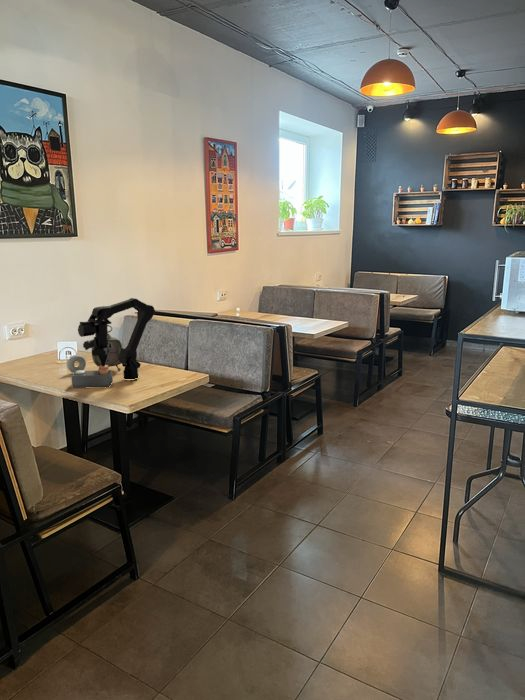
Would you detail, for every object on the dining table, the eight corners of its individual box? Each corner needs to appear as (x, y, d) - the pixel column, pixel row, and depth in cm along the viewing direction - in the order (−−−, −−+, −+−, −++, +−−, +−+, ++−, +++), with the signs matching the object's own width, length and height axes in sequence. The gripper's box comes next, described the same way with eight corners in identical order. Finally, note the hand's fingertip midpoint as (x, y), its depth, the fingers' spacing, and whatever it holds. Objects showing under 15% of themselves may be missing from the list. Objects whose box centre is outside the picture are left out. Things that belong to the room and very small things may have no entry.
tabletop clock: (95, 374, 265) (92, 327, 260) (92, 370, 273) (89, 324, 268) (123, 371, 272) (121, 325, 267) (119, 367, 280) (117, 322, 274)
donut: (70, 375, 263) (68, 356, 261) (66, 374, 266) (65, 355, 264) (87, 371, 271) (86, 353, 269) (84, 370, 273) (83, 352, 271)
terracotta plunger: (109, 375, 249) (109, 364, 248) (108, 378, 244) (107, 367, 243) (100, 376, 248) (99, 364, 247) (98, 378, 244) (97, 367, 243)
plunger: (86, 381, 248) (86, 370, 247) (84, 383, 244) (83, 372, 243) (77, 381, 248) (76, 370, 247) (75, 384, 243) (74, 372, 242)
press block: (112, 382, 252) (112, 370, 251) (109, 387, 243) (108, 375, 242) (77, 382, 250) (76, 371, 249) (72, 388, 241) (71, 375, 240)
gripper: (88, 330, 250) (90, 361, 253) (79, 338, 232) (81, 371, 235) (111, 330, 251) (113, 361, 255) (104, 337, 233) (106, 370, 236)
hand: (103, 365), depth 245 cm, fingers closed, pressing on terracotta plunger
